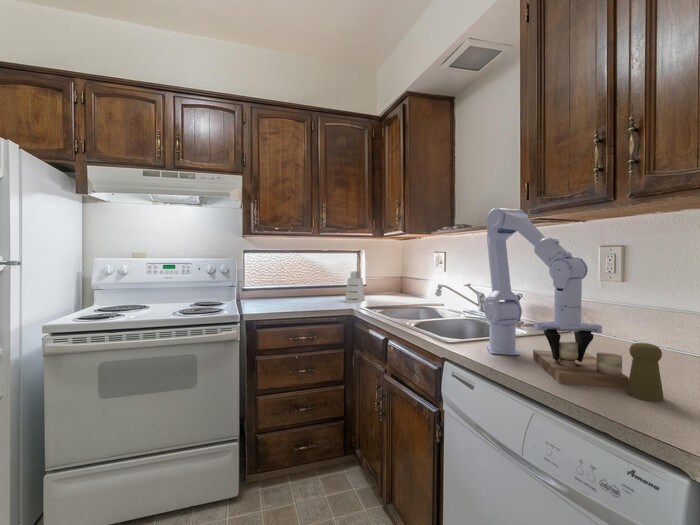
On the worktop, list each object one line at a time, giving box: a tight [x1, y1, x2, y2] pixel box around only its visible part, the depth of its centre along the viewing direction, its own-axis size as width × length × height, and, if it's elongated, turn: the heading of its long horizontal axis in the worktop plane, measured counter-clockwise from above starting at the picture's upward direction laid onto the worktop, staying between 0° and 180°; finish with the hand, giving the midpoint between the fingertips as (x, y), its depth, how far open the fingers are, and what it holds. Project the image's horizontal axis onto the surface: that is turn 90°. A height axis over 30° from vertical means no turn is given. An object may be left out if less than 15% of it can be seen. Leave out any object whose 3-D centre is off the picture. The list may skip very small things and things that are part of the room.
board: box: [532, 349, 629, 389], centre depth 88 cm, size 20×14×6 cm
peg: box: [559, 339, 578, 367], centre depth 87 cm, size 5×5×6 cm
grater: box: [344, 270, 366, 304], centre depth 223 cm, size 10×10×20 cm
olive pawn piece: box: [626, 342, 665, 403], centre depth 73 cm, size 6×6×11 cm
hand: (567, 359), depth 87 cm, fingers closed on peg, 4 cm apart
